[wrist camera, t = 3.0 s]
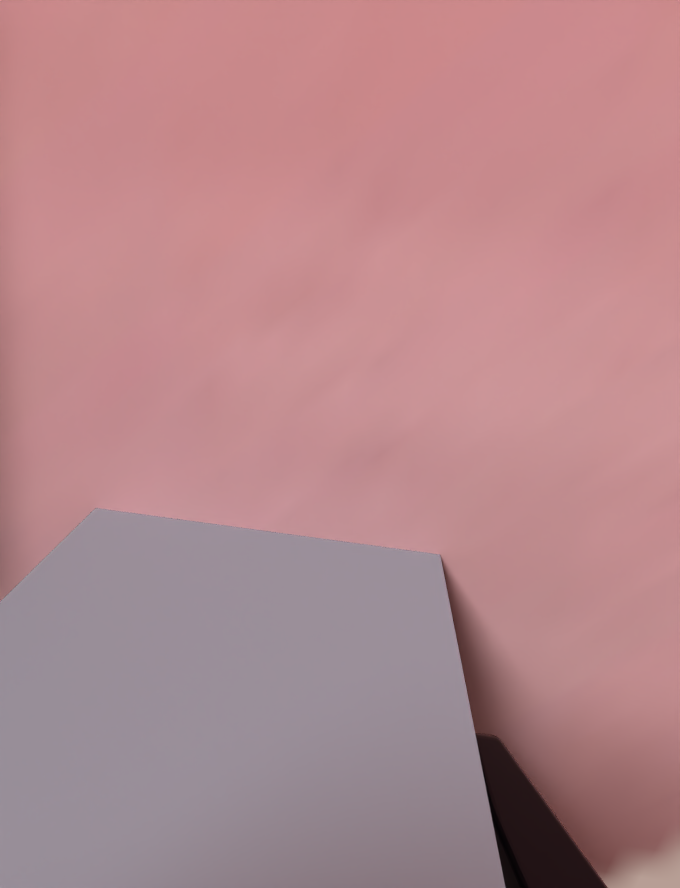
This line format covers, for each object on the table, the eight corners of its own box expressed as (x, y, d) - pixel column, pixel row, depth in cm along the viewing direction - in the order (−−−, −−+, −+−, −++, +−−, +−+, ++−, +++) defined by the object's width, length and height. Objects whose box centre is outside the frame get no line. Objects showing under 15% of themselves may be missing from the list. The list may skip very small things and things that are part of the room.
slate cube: (387, 794, 10) (398, 1302, 5) (108, 754, 10) (-130, 1219, 5) (439, 552, 8) (526, 992, 3) (98, 505, 8) (-275, 872, 3)
